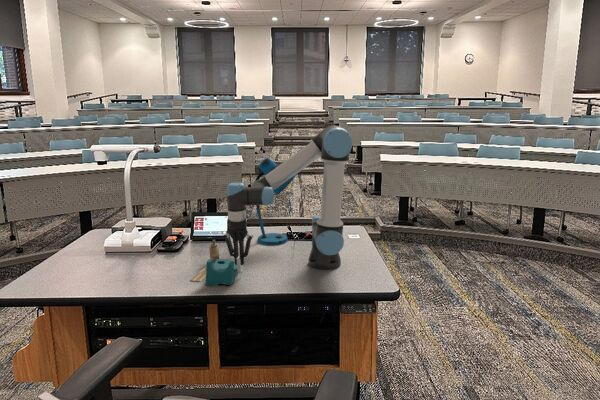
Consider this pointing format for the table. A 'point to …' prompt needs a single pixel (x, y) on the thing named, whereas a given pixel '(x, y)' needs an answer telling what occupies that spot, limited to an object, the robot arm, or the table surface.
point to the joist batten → (200, 276)
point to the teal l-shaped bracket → (220, 272)
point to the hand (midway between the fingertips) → (240, 271)
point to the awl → (214, 251)
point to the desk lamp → (267, 238)
